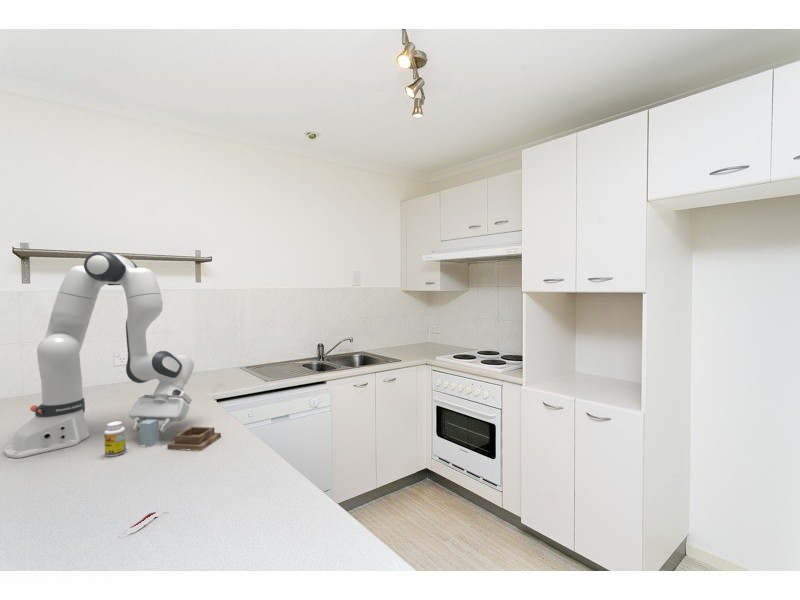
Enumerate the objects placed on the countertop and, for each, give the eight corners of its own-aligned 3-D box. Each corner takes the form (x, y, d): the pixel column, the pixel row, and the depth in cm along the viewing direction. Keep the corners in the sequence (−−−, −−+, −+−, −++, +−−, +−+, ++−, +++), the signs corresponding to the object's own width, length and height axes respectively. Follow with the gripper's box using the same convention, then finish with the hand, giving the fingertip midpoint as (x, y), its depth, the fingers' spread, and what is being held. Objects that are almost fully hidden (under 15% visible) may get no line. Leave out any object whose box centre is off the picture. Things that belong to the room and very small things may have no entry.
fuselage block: (150, 446, 135) (150, 423, 135) (140, 445, 136) (139, 423, 135) (159, 441, 139) (158, 419, 139) (148, 441, 140) (148, 419, 139)
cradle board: (200, 451, 131) (200, 439, 131) (167, 449, 133) (167, 437, 132) (220, 437, 143) (220, 426, 143) (190, 435, 145) (189, 425, 144)
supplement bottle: (101, 455, 129) (100, 424, 128) (120, 448, 134) (119, 419, 133) (110, 458, 126) (109, 427, 125) (129, 452, 131) (128, 422, 130)
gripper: (136, 390, 145) (115, 426, 136) (188, 391, 143) (170, 428, 133) (146, 398, 150) (126, 433, 140) (196, 400, 147) (179, 436, 138)
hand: (148, 431), depth 137 cm, fingers open, 8 cm apart
